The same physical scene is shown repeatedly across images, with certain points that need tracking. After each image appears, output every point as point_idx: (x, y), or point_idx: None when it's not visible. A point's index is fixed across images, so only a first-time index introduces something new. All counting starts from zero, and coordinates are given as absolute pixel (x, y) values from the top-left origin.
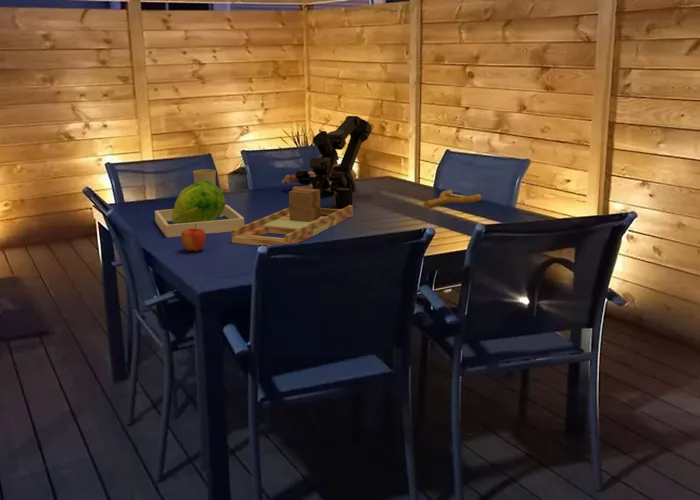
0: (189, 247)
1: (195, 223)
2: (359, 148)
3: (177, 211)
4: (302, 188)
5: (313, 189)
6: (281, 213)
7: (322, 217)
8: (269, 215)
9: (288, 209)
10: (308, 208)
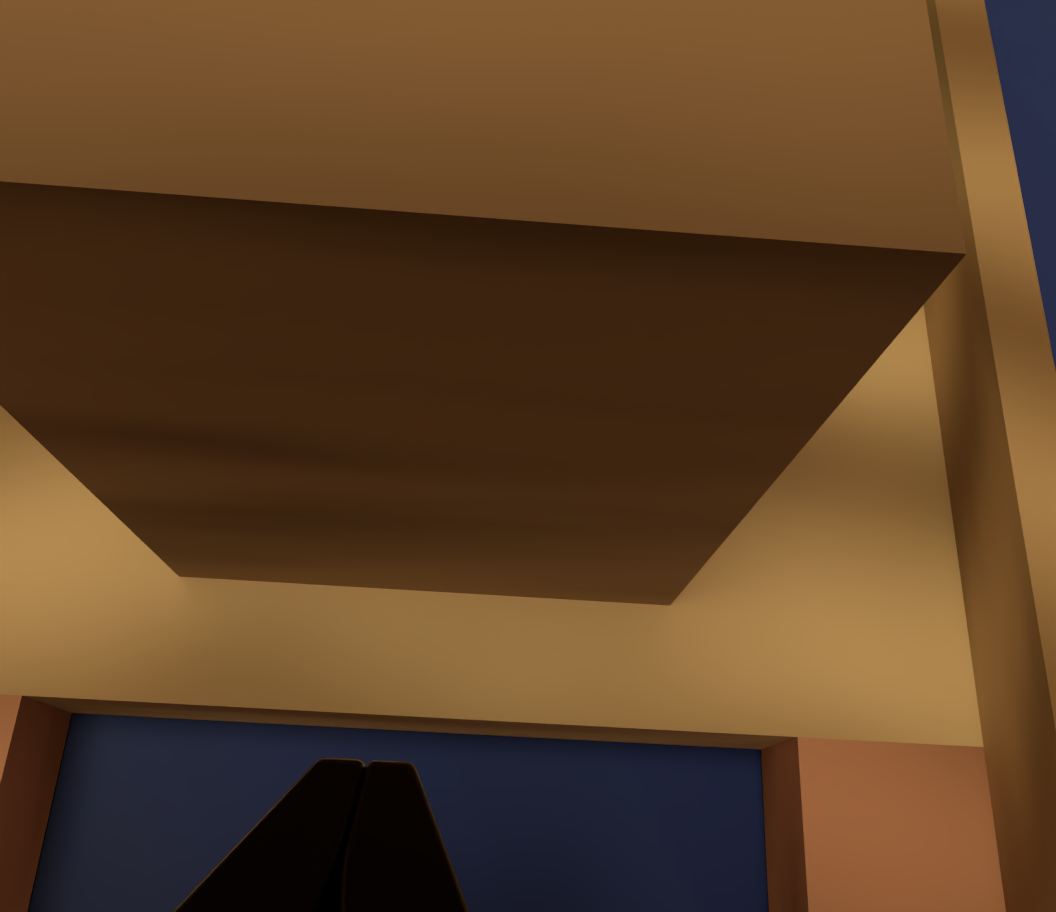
0: None
1: None
2: None
3: None
4: (741, 163)
5: (93, 54)
6: (969, 343)
7: (130, 575)
8: (977, 10)
9: (1032, 645)
10: None
